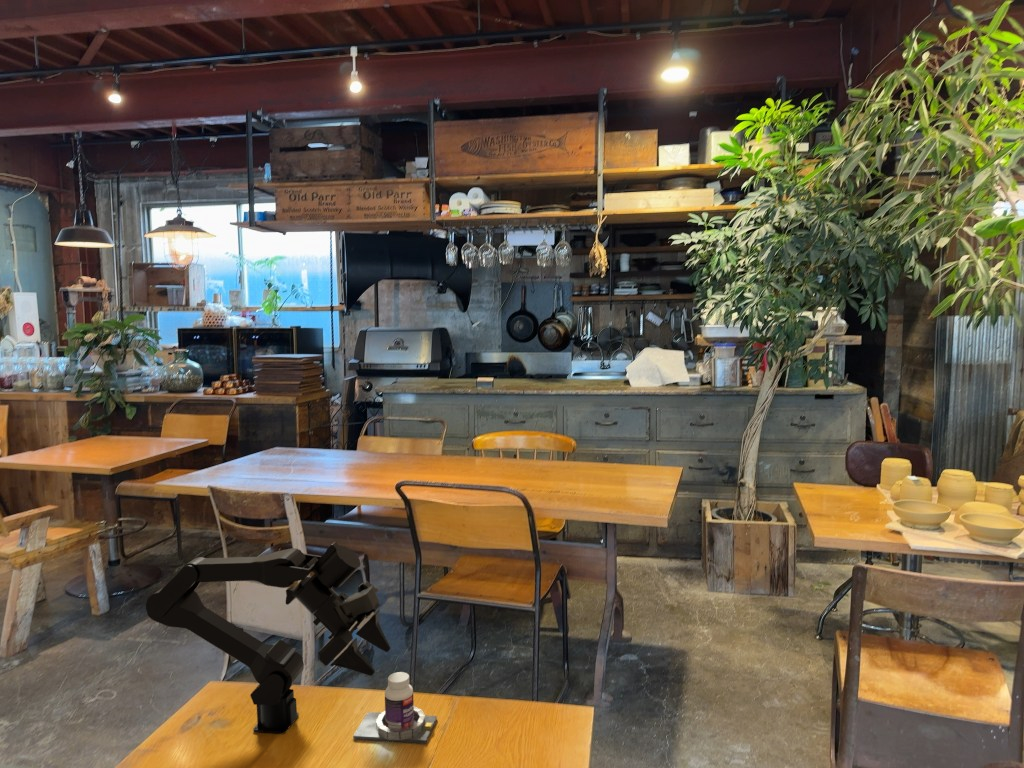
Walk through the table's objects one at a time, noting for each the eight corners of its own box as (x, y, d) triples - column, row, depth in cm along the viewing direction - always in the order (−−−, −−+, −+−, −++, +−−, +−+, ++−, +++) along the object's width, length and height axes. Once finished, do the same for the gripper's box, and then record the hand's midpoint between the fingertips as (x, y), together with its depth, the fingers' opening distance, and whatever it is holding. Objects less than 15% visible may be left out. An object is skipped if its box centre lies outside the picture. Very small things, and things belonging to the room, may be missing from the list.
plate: (353, 739, 127) (353, 735, 127) (368, 715, 135) (367, 711, 135) (426, 744, 125) (426, 740, 125) (436, 719, 133) (436, 715, 133)
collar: (370, 738, 126) (369, 730, 126) (385, 711, 135) (385, 704, 135) (425, 742, 125) (425, 734, 125) (437, 714, 134) (437, 707, 134)
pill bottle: (408, 735, 127) (406, 685, 126) (381, 732, 128) (379, 682, 127) (418, 719, 132) (416, 671, 131) (392, 716, 133) (390, 668, 132)
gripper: (332, 594, 120) (394, 657, 119) (368, 558, 138) (422, 613, 138) (291, 635, 121) (353, 698, 121) (332, 594, 140) (386, 649, 139)
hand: (381, 661), depth 130 cm, fingers open, 9 cm apart
